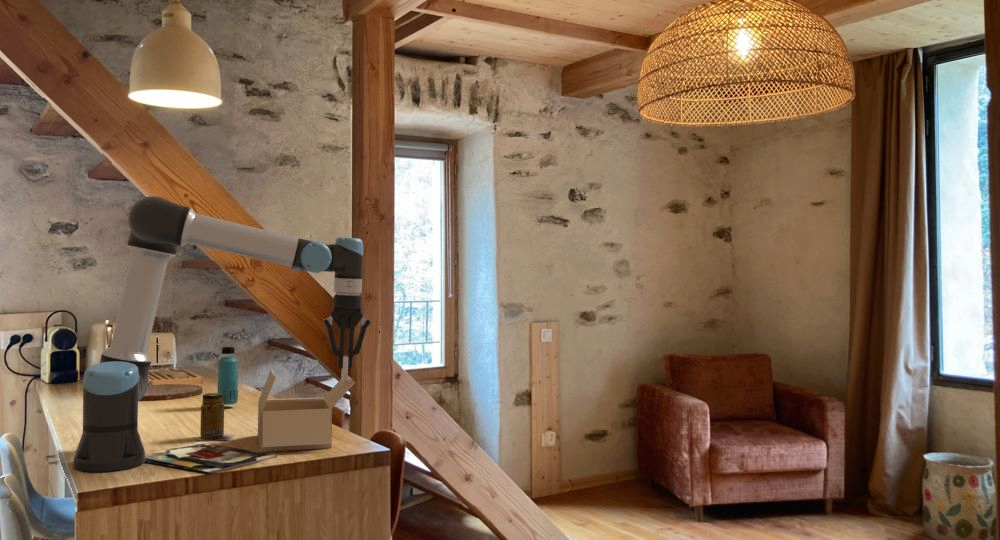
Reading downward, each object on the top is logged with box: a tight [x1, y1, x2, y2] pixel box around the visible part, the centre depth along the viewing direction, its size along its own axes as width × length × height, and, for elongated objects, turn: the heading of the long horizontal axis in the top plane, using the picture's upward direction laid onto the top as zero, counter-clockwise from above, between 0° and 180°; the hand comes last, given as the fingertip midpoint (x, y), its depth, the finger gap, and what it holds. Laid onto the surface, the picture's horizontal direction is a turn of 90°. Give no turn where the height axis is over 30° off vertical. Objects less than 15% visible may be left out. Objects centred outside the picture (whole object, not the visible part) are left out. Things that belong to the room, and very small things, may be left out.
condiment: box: [195, 392, 234, 442], centre depth 214 cm, size 7×8×12 cm
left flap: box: [258, 368, 276, 411], centre depth 207 cm, size 1×15×9 cm, turn 19°
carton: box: [257, 398, 333, 453], centre depth 210 cm, size 18×16×10 cm
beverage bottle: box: [217, 346, 239, 406], centre depth 257 cm, size 6×7×20 cm
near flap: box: [262, 408, 332, 447], centre depth 200 cm, size 17×1×9 cm, turn 109°
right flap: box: [323, 375, 356, 409], centre depth 214 cm, size 1×15×9 cm
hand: (344, 380), depth 214 cm, fingers closed
